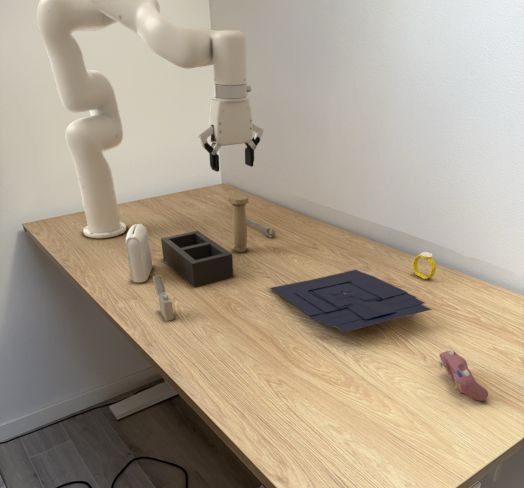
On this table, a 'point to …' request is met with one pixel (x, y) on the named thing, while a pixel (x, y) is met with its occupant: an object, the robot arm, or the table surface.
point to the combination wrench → (261, 227)
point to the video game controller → (462, 376)
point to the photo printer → (138, 253)
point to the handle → (239, 220)
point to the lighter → (163, 298)
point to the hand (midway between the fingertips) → (232, 167)
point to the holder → (197, 258)
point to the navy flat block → (350, 300)
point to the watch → (433, 267)
